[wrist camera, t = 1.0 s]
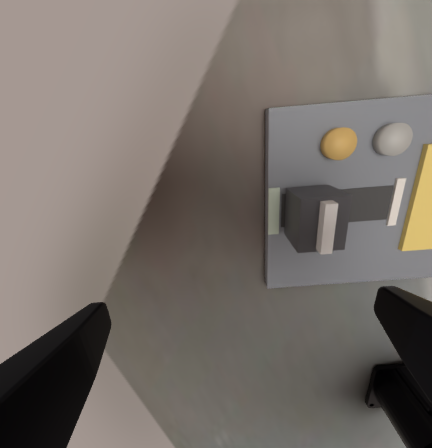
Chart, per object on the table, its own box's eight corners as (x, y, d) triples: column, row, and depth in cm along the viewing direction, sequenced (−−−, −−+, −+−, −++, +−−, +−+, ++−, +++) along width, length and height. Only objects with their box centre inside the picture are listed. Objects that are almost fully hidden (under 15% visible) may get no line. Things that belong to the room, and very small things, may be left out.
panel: (478, 266, 20) (502, 278, 19) (264, 281, 21) (269, 294, 19) (552, 85, 15) (594, 79, 14) (265, 109, 16) (271, 106, 14)
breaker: (323, 231, 18) (350, 255, 14) (284, 234, 18) (301, 258, 14) (328, 184, 16) (359, 198, 13) (286, 187, 16) (305, 202, 13)
